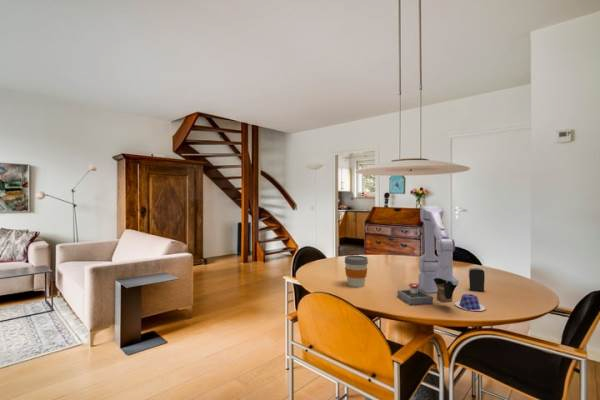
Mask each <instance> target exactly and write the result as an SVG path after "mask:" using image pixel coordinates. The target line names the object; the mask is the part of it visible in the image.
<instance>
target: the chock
mask: <svg viewBox="0 0 600 400" xmlns="http://www.w3.org/2000/svg"><path fill="white" fill-rule="evenodd" d="M436 286H437V292H436V300H437V301H438V302H440V303H441V304H443V303H445V304H446V303H453V297H452V298H451V299H446V295H445V288H444V285H443V284H436Z"/></svg>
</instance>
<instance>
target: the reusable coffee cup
mask: <svg viewBox="0 0 600 400" xmlns="http://www.w3.org/2000/svg"><path fill="white" fill-rule="evenodd" d="M368 263H369V261H368V257H367V256H364V255H346V256H345V257H344V264H345V268H344V269H345V276H346V279H347V285H348V286H350V287H351V288H362V287H364V286H365V283H366V277H367V273H368Z"/></svg>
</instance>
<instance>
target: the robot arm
mask: <svg viewBox="0 0 600 400" xmlns="http://www.w3.org/2000/svg"><path fill="white" fill-rule="evenodd" d="M419 212H420V213H419V216H420V217H419V218H420V222H422V223H423V225H424V226H423V227H424V254H422V255H421V256H420V257H419V259H418V271H419V273H418V284H419V287H418V289H419V290H421V291H423V292H424V293H426V294H428V293H429V294H431V293H437V286H436V284H443V285H444V288H445V295H446V299H451V298H452V299H453V295H454V291H455V290H456V288H457V286H458V285H459V280H458V279H457V278H455V277H454V276H453V263H454V262H453V256H454V255H453V252H454V251H455V249H456V243H455V239H454V238H453V237H452V236H450V234H449V231H448V229H447V227H446V226H444V225H443V221H442V219H443V216H444V207H442V205H422V206H421V207H420V209H419ZM435 240H436V242H435ZM435 247H436V248H435ZM435 249H436V250H435ZM435 251H436V254H437V255H436V254H435Z"/></svg>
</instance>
